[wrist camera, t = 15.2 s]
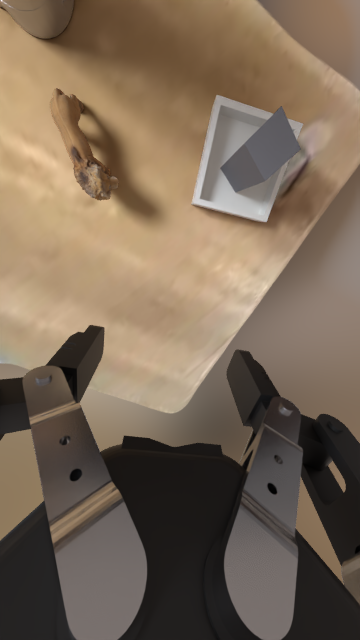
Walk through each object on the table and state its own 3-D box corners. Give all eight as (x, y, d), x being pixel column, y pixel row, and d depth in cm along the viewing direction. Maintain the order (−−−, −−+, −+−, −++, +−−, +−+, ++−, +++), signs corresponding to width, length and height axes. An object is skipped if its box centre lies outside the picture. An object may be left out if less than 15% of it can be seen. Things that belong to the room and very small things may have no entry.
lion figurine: (131, 193, 34) (119, 186, 26) (105, 210, 35) (86, 208, 27) (71, 82, 28) (31, 27, 20) (42, 105, 29) (-8, 63, 21)
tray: (191, 204, 35) (193, 203, 32) (212, 107, 29) (216, 94, 26) (258, 221, 36) (266, 222, 33) (289, 133, 31) (303, 123, 28)
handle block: (220, 167, 32) (244, 143, 21) (243, 144, 31) (281, 106, 20) (235, 192, 33) (265, 181, 23) (258, 171, 32) (300, 148, 22)
